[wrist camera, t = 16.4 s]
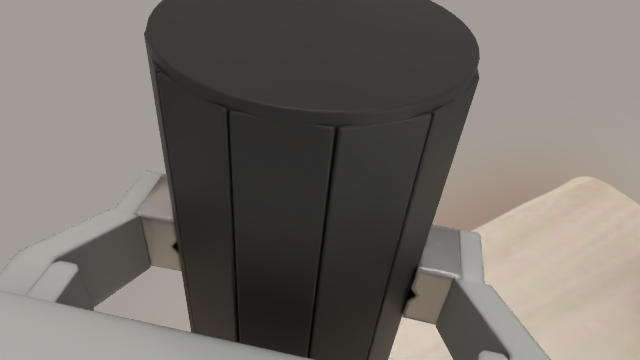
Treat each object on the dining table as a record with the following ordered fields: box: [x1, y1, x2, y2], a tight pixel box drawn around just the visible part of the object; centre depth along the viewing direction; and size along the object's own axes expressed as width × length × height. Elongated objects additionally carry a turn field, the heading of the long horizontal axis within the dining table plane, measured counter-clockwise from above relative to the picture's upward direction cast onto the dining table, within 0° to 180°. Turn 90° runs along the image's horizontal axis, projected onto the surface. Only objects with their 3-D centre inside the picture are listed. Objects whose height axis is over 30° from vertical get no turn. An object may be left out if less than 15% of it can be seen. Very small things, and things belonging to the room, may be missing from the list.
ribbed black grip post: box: [144, 0, 480, 360], centre depth 13 cm, size 6×6×14 cm
